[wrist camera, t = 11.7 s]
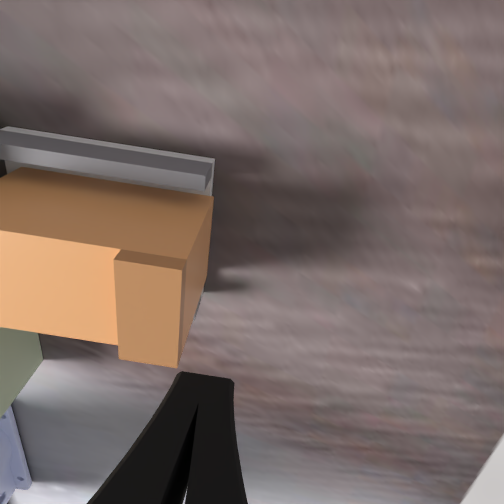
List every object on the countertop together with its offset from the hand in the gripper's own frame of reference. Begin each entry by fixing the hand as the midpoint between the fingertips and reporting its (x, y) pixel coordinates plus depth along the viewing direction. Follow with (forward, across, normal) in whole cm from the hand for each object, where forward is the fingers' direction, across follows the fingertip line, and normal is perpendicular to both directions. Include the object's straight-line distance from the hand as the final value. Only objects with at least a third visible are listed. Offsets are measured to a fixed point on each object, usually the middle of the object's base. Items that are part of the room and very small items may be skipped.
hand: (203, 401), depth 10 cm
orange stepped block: (+8, +5, 0) cm, 10 cm away
